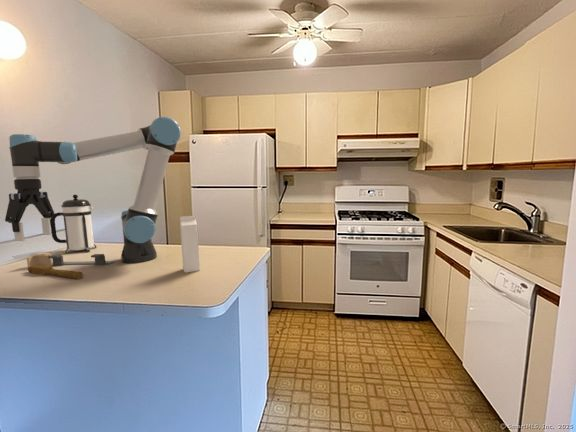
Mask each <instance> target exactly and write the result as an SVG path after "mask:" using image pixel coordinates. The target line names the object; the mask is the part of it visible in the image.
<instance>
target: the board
mask: <svg viewBox="0 0 576 432" xmlns="http://www.w3.org/2000/svg"><path fill="white" fill-rule="evenodd" d="M90 258H94V260H93V261H92V260H91V261H90V260H89V261H86V260H85V261H64V257H63V255H62V254H51V252H38V253H34V254H33V255H31V256H27V257H26V264H27V268H28V267H29V266H37V265H44V266H51V267H52V266H54V267H59V266H60V267H61V266H71V265H72V266H78V265H79V266H80V265H85V266H86V265H94V266H104V265H111V264H113V263H115V261H114V260H106V255H105V254H104V253H94V254H92V255H90Z"/></svg>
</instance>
